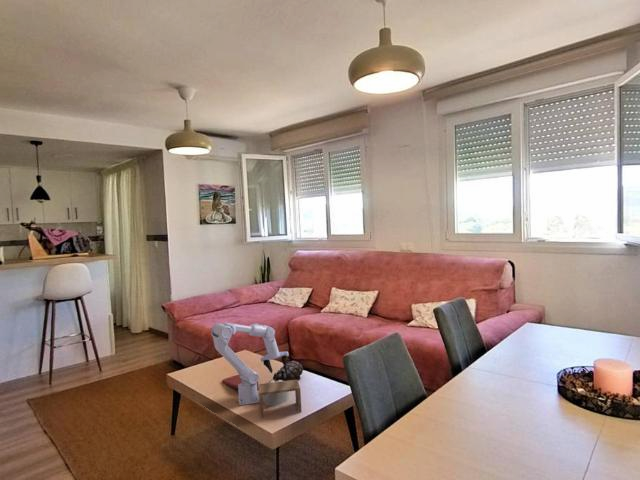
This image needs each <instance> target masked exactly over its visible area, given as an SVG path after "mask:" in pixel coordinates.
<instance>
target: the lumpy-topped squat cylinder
mask: <svg viewBox="0 0 640 480" xmlns="http://www.w3.org/2000/svg"><path fill="white" fill-rule="evenodd" d="M281 381H282V380H278V381H275V380H270V381H269V382H268V383H273V382H281ZM289 399H290V391H289V392H281V393H274V394H266V395H263V404H267V405H268V406H270V407H276V406H280V405H282V404H285V403H287V402H288V401H289Z"/></svg>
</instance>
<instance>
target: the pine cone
mask: <svg viewBox="0 0 640 480" xmlns="http://www.w3.org/2000/svg"><path fill="white" fill-rule="evenodd" d="M286 367H287V368H286V370H285V369H284V365H283V366H281V367H280V369H278V370H277V372H274V374H273V377H272V379H273V381H278V380H282V381H289V380H298V381H299V380H301V379H302V377H301V375H302V374H303V371H304V367H303V365H302V364H301V363H300V362H299V361H296V360H291V361H288V362H286Z"/></svg>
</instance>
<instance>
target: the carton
mask: <svg viewBox="0 0 640 480" xmlns="http://www.w3.org/2000/svg"><path fill="white" fill-rule="evenodd" d="M221 383H222V384H224V385H228V386H230V387H233V388H235V389H238V384H241V383H242V379H241V378H240V377H239V374H236V375H233V376H229V377H226V378H224V379H222V380H221ZM257 392H259V381H258V382H257Z"/></svg>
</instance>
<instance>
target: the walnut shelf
mask: <svg viewBox="0 0 640 480" xmlns="http://www.w3.org/2000/svg"><path fill="white" fill-rule="evenodd" d="M258 387H259V390H258V397H259V409H260V410H259V411H260V418H261V419H264V418H265V412H264V400H263V395H266V394H274V393H281V392H289V393H290V392H295V393H294V394H295V405H296V408H297V411H298V413H299V414H300V413H302V400H301V399H302V395H301V393H302V392H301V386H300V384H299V380H289V381H281V382H273V383H269V382H267V383H258Z"/></svg>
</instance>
